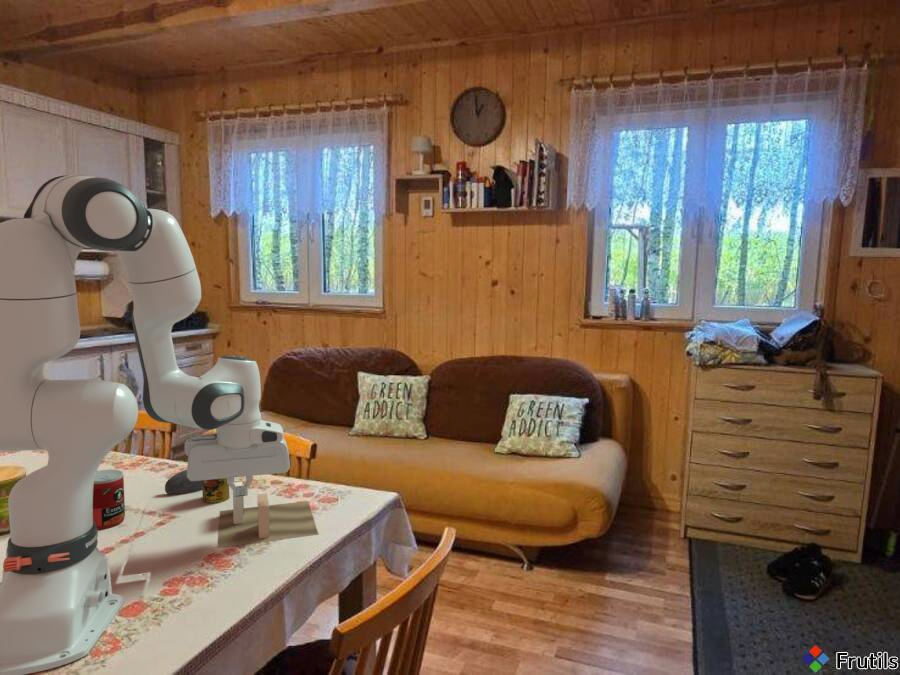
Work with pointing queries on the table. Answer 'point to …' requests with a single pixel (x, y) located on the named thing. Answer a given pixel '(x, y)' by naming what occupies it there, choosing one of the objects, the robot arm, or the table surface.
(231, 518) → the walnut board
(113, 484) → the canned food
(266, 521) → the terracotta tile
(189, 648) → the table surface
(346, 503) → the table surface
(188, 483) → the perforated stone tool
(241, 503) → the cream tile
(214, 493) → the condiment
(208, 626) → the table surface
